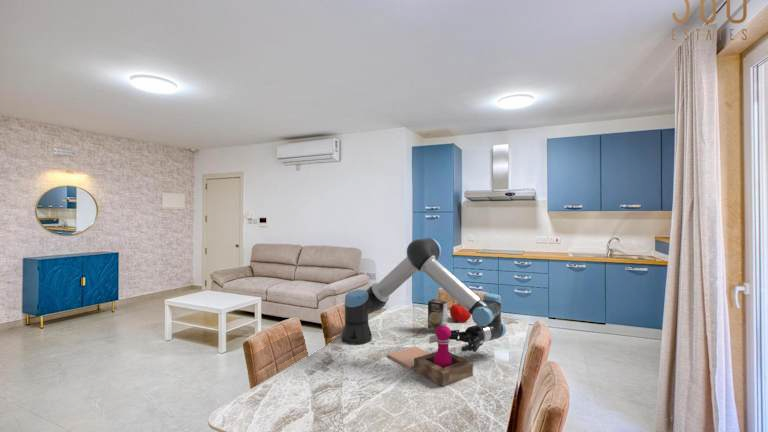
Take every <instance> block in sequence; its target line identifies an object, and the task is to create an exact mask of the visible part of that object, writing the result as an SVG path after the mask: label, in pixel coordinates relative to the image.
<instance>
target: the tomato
mask: <svg viewBox="0 0 768 432" xmlns="http://www.w3.org/2000/svg"><path fill="white" fill-rule="evenodd" d="M449 315H450V317H451V319H452V320H453V321H455V322H458V323H459V322H460V323H462V322H467V321H468V320H470V318H471V317H472V315H471V314H470V313H469V312H468V311H467V310H466V309H464V308H463V307H462V306H461V305H460V304H459V303H458V302H457V301H456V304H452V305H451V307H450V309H449Z"/></svg>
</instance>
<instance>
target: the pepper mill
mask: <svg viewBox="0 0 768 432" xmlns="http://www.w3.org/2000/svg"><path fill="white" fill-rule="evenodd" d="M445 325H446V324H445V322H442V323H441V326H438V327H437V328H436V332H434V335H436V336H437V337H438V338H437V342H436V343H437V351H436V352H437V353H436V355H435V357H434V364H436V365H438V366H440V367H442V368H445V367H448V366H451V365H452V358H451V355H450V353H451V352H450V350H449V344H450V341H451V340H450V339H449V337H450V336H451V330H452V329H451V328H450V327H449V326H448V325H447V326H445ZM449 352H450V353H449Z"/></svg>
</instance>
